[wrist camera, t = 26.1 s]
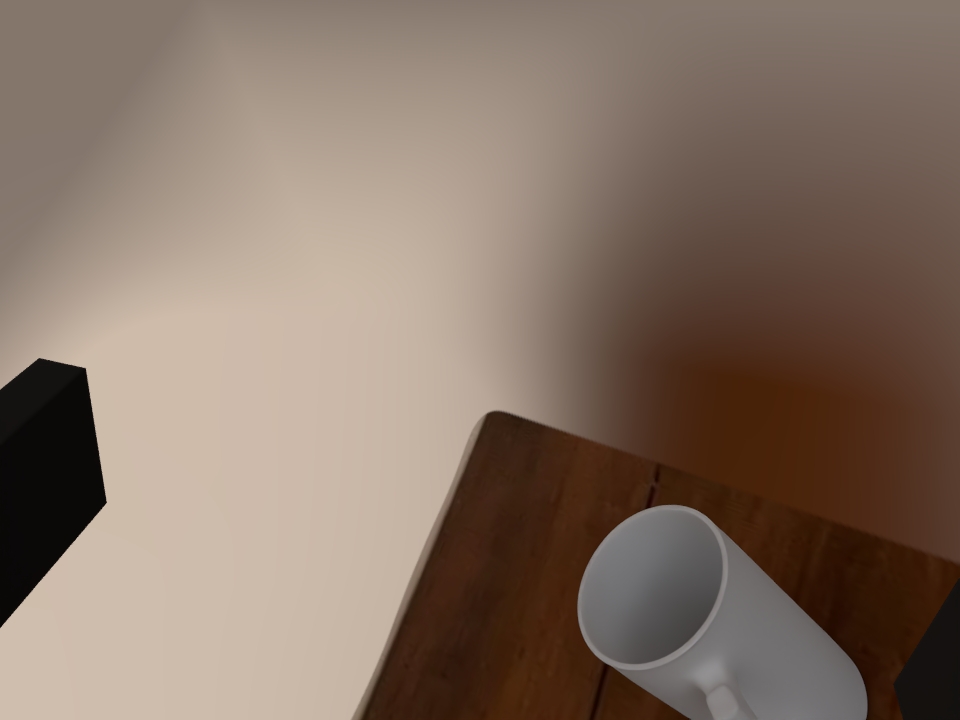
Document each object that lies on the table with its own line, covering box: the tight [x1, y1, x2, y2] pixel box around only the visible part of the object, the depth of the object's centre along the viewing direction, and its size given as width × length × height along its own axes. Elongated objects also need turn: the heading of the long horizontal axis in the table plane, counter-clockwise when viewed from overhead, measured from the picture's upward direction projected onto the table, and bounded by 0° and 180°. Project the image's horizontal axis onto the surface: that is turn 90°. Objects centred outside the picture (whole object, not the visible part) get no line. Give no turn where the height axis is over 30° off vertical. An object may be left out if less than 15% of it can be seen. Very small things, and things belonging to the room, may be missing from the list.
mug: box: [578, 505, 867, 720], centre depth 33 cm, size 10×7×12 cm, turn 14°
